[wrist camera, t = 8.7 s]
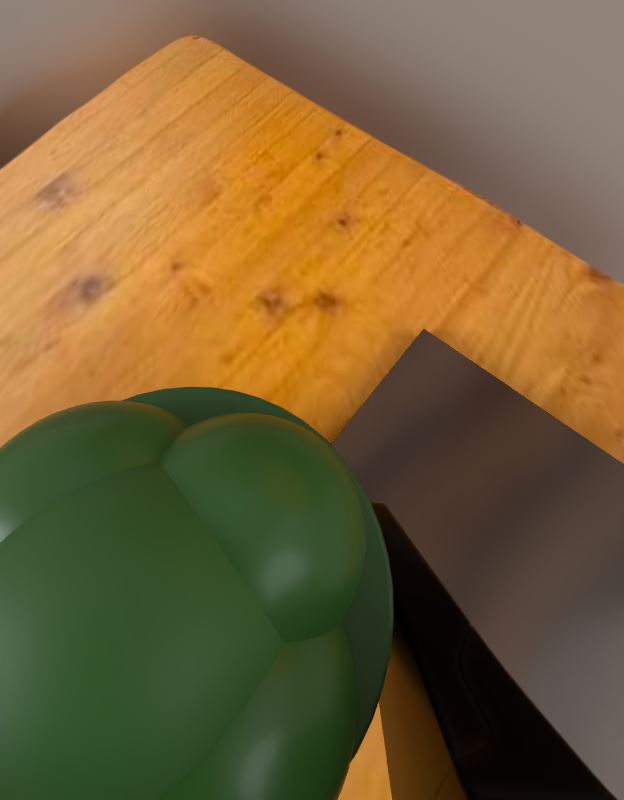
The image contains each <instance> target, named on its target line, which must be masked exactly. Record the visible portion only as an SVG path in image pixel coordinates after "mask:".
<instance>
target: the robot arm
mask: <svg viewBox="0 0 624 800" xmlns="http://www.w3.org/2000/svg"><path fill="white" fill-rule="evenodd" d="M371 505H372V507H373V510H374V512H375V514H376V517H377V519H378V522H379V524H380V527H381V530H382V534H383V538H384V541H385V545H386V549H387V552H388V556H389V563H390V570H391V577H392V584H393V607H394V623H393V634H392V645H391V654H390V659H389V663H388V668H387V673H386V678H385V683H384V687H383V690H382V693H381V696H380V699H379V706H380V713H381V720H382V728H383V735H384V742H385V750H386V757H387V764H388V772H389V779H390V787H391V794H392V800H618V799H617V798H616V797H615V796H614V795H613V794H612V793H611V792H610V791H609V790H608V789H607V788H606V787H605V786H604V785H603V783H602V782H601V781H600V780H599V779H598V778H597V777H596V776H595V775H594V773H593V772H592V771H591V770H590V769H589V768H588V766H587V765H586V764H585V763H584V762H583V760H582V759H581V758H580V757H579V756H578V755H577V753H576V752H575V751H574V750H573V749H572V748H571V746H570V745H569V744H568V743H567V742H566V741H565V739H564V738H563V737H562V736H561V735H560V734H559V732H558V731H557V730H556V729H555V728H554V727H553V725H552V724H551V723H550V722H549V721H548V720H547V718H546V717H545V716H544V715H543V714H542V713H541V711H540V710H539V709H538V708H537V707H536V706H535V704H534V703H533V702H532V701H531V700H530V698H529V697H528V696H527V695H526V694H525V692H524V691H523V690H522V689H521V688H520V686H519V685H518V684H517V683H516V682H515V680H514V679H513V678H512V677H511V675H510V674H509V673H508V672H507V671H506V669H505V668H504V667H503V665H502V664H501V663H500V661H499V660H498V659H497V657H496V656H495V655H494V654H493V652H492V651H491V650H490V648H489V647H488V646H487V644H486V643H485V642H484V640H483V639H482V637H481V636H480V635H479V633H478V632H477V630H476V629H475V628H474V626H470V625H471V623H470V621H469V620H468V618H467V617H466V615H465V614H464V613H463V611H462V610H461V609H460V607H459V606H458V604H457V603H456V602H455V600H454V599H453V597H452V596H451V595H450V593H449V592H448V591H447V589H446V588H445V586H444V585H443V584H442V582H441V581H440V579H439V578H438V577H437V575H436V574H435V573H434V571H433V570H432V568H431V567H430V566H429V564H428V563H427V561H426V560H425V559H424V557H423V556H422V555H421V553H420V552H419V550H418V549H417V548H416V546H415V545H414V543H413V542H412V541H411V539H410V538H409V537H408V535H407V534H406V532H405V531H404V530H403V528H402V527H401V525H400V524H399V523H398V521H397V520H396V519H395V517H394V516H393V514H392V513H391V512H390V510H389V509H388V507H387V506H386V505H385V504H384V503H375V502H371Z"/></svg>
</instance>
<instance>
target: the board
mask: <svg viewBox="0 0 624 800" xmlns="http://www.w3.org/2000/svg"><path fill="white" fill-rule="evenodd" d="M331 446H332V447H333V448H334V449H335V450H336V451H337V452H338V453H339V454H340V455H341V456H342V458H343V459H344V460H345V462H346V463H347V464H348V466H349V467H350V468H351V470H352V471H353V473H354V474H355V475H356V477H357V478H358V480H359V482H360V484H361V486H362V487H363V489H364V491H365V493H366V495H367V496H368V498H369V500H370V502H375V503H384V504H385V505H386V506H387V507H388V509H389V510H390V512H391V513H392V514H393V516H394V517H395V519H396V520H397V521H398V523H399V524H400V525H401V527H402V528H403V530H404V531H405V532H406V534H407V535H408V537H409V538H410V539H411V541H412V542H413V543H414V545H415V546H416V548H417V549H418V550H419V552H420V553H421V555H422V556H423V557H424V559H425V560H426V561H427V563H428V564H429V566H430V567H431V568H432V570H433V571H434V573H435V574H436V575H437V577H438V578H439V579H440V581H441V582H442V584H443V585H444V586H445V588H446V589H447V591H448V592H449V593H450V595H451V596H452V597H453V599H454V600H455V602H456V603H457V604H458V606H459V607H460V609H461V610H462V611H463V613H464V614H465V615H466V617H467V618H468V620H469V621H470V623H471V625H470V626H474V628H475V629H476V630H477V632H478V633H479V635H480V636H481V637H482V639H483V640H484V642H485V643H486V644H487V646H488V647H489V648H490V650H491V651H492V652H493V654H494V655H495V656H496V657H497V659H498V660H499V661H500V663H501V664H502V665H503V667H504V668H505V669H506V671H507V672H508V673H509V674H510V675H511V677H512V678H513V679H514V680H515V682H516V683H517V684H518V685H519V686H520V688H521V689H522V690H523V691H524V692H525V694H526V695H527V696H528V697H529V698H530V700H531V701H532V702H533V703H534V704H535V706H536V707H537V708H538V709H539V710H540V711H541V713H542V714H543V715H544V716H545V717H546V718H547V720H548V721H549V722H550V723H551V724H552V725H553V727H554V728H555V729H556V730H557V731H558V732H559V734H560V735H561V736H562V737H563V738H564V739H565V741H566V742H567V743H568V744H569V745H570V746H571V748H572V749H573V750H574V751H575V752H576V753H577V755H578V756H579V757H580V758H581V759H582V760H583V762H584V763H585V764H586V765H587V766H588V768H589V769H590V770H591V771H592V772H593V773H594V775H595V776H596V777H597V778H598V779H599V780H600V781H601V782H602V783H603V785H604V786H605V787H606V788H607V789H608V790H609V791H610V792H611V793H612V794H613V795H614V796H615V797H616V798H617V799H618V800H624V464H623V463H621V462H620V461H618V460H617V459H615V458H614V457H612V456H611V455H609V454H608V453H606V452H605V451H603V450H602V449H601V448H599V447H598V446H596V445H595V444H593V443H592V442H590V441H589V440H587V439H586V438H584V437H583V436H581V435H580V434H578V433H577V432H575V431H574V430H573V429H571V428H570V427H568V426H567V425H565V424H564V423H562V422H561V421H559V420H558V419H556V418H555V417H553V416H552V415H550V414H549V413H547V412H546V411H545V410H543V409H542V408H540V407H539V406H537V405H536V404H534V403H533V402H531V401H530V400H528V399H527V398H525V397H524V396H522V395H521V394H519V393H518V392H517V391H515V390H514V389H512V388H511V387H509V386H508V385H506V384H505V383H503V382H502V381H500V380H499V379H497V378H496V377H494V376H493V375H491V374H490V373H488V372H487V371H486V370H484V369H483V368H481V367H480V366H478V365H477V364H475V363H474V362H472V361H471V360H469V359H468V358H466V357H465V356H463V355H462V354H460V353H459V352H458V351H456V350H455V349H453V348H452V347H450V346H449V345H447V344H446V343H444V342H443V341H441V340H440V339H438V338H437V337H435V336H434V335H432V334H431V333H430V332H428V331H427V330H425V329H423V330H422V331H421V333H420V334H419V335H418V336H417V338H416V339H415V340H414V341H413V343H412V344H411V345H410V346H409V348H408V349H407V350H406V351H405V353H404V354H403V355H402V356H401V358H400V359H399V360H398V361H397V363H396V364H395V365H394V366H393V368H392V369H391V370H390V371H389V373H388V374H387V375H386V376H385V378H384V379H383V380H382V381H381V383H380V384H379V385H378V386H377V388H376V389H375V390H374V391H373V393H372V394H371V395H370V396H369V398H368V399H367V400H366V401H365V403H364V404H363V405H362V406H361V408H360V409H359V410H358V411H357V413H356V414H355V415H354V416H353V418H352V419H351V420H350V421H349V423H348V424H347V425H346V426H345V428H344V429H343V430H342V431H341V433H340V434H339V435H338V436H337V438H336V439H335V440H334V441H333V443H332V444H331Z"/></svg>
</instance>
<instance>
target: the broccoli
mask: <svg viewBox="0 0 624 800" xmlns="http://www.w3.org/2000/svg"><path fill="white" fill-rule="evenodd" d="M393 623H394V607H393V584H392V577H391V570H390V563H389V556H388V552H387V549H386V545H385V541H384V538H383V534H382V530H381V527H380V524H379V522H378V519H377V517H376V514H375V512H374V510H373V507H372V505H371V502H370V500H369V498H368V496H367V495H366V493H365V491H364V489H363V487H362V486H361V484H360V482H359V480H358V478H357V477H356V475H355V474H354V473H353V471H352V470H351V468H350V467H349V466H348V464H347V463H346V462H345V460H344V459H343V458H342V456H341V455H340V454H339V453H338V452H337V451H336V450H335V449H334V448H333V447H332V446H331V445H330V443H329V442H328V441H327V440H326V439H325V438H324V437H323V436H322V435H320V434H319V433H318V432H317V431H315V430H314V429H313V428H312V427H310V426H309V425H308V424H307V423H305V422H304V421H303V420H301V419H300V418H298V417H296V416H295V415H293V414H291V413H290V412H288V411H286V410H285V409H283V408H281V407H279V406H277V405H274V404H272V403H270V402H268V401H265V400H263V399H261V398H258V397H255V396H251V395H248V394H244V393H241V392H237V391H232V390H225V389H219V388H211V387H182V388H171V389H162V390H158V391H153V392H149V393H144V394H140V395H136V396H133V397H130V398H128V399H125V400H122V401H103V402H93V403H88V404H83V405H78V406H75V407H71V408H68V409H65V410H62V411H59V412H57V413H54V414H51V415H49V416H47V417H45V418H43V419H41V420H39V421H37V422H36V423H34V424H32V425H31V426H29V427H27V428H26V429H24V430H23V431H21V432H19V433H18V434H17V435H15V436H14V437H13V438H11V439H10V440H9V441H8V442H6V443H5V444H4V445H3V446H2V447H1V448H0V800H337V799H338V797H339V795H340V793H341V790H342V787H343V784H344V781H345V778H346V775H347V772H348V770H349V765H350V763H351V761H352V759H353V758H354V756H355V755H356V753H357V751H358V749H359V747H360V745H361V743H362V741H363V739H364V737H365V734H366V732H367V730H368V728H369V726H370V724H371V722H372V720H373V717H374V714H375V711H376V708H377V705H378V702H379V699H380V696H381V693H382V690H383V687H384V683H385V678H386V673H387V668H388V663H389V659H390V654H391V645H392V634H393Z"/></svg>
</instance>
